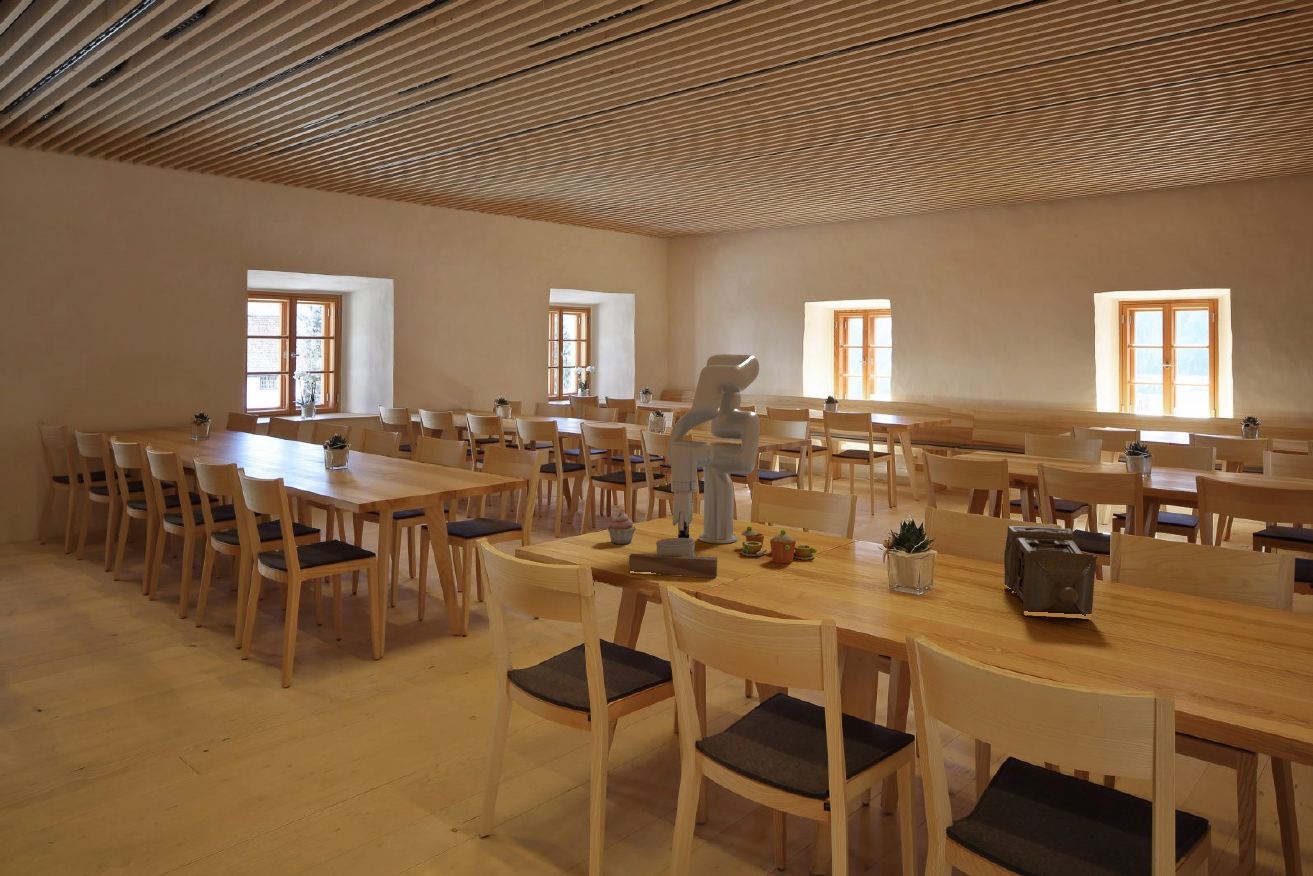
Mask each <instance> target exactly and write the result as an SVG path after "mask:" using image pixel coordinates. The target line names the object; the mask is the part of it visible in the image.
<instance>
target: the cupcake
mask: <svg viewBox="0 0 1313 876" xmlns="http://www.w3.org/2000/svg"><path fill="white" fill-rule="evenodd" d="M606 529H607V531H608V534H609V536H610V541H611V543H612V544H614V543H615V544H614V545H629V544H631V543H632V541H633V537H634V533H635V531H636V529H637V528H636V526H634V522H633V521H632V519H631V518H630V517H629V516H628V514H627V513H625V512H622V511H620V512H618V515H616V516H613V517H612V519H611V521H609V523H608V527H606Z"/></svg>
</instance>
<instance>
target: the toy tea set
mask: <svg viewBox="0 0 1313 876" xmlns="http://www.w3.org/2000/svg"><path fill="white" fill-rule="evenodd" d="M740 535H742V536H744V537H745V540H746V541H745V540H744V541H742V542H741V544H742V551H741V554H742V555H743V556H745V557H750V556H758V557H762V556H764V554H765V553H767V551H768V550H767V549H763V544H764V540H765V535H764V534H763V533H759V532H756V531H755V530H753V528H752V526H751V525H748V526H747V527H746V530H744V531H742V532H741V534H740ZM769 543H770V550H771V552H770V553H771V557H772V562H773V563H776V564H781V563H787V564H791V563H793V561H794V559H795V560H799V559H801V560H802V561H808V560H809V559H810V560H813V559H815V554H816V553H817V549H816V548H815V547H814V546H813V545H809V544H797V540H796V539H795V538H794V537H793V536H792V535H790V534H789V533H787V531H786V530H785V529H781V531H780V533H778V534H775V535H774V536H773V537H772V538H770V540H769ZM796 544H797V545H796ZM761 548H762V549H761ZM801 560H800V561H801Z"/></svg>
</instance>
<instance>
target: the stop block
mask: <svg viewBox="0 0 1313 876" xmlns="http://www.w3.org/2000/svg"><path fill="white" fill-rule="evenodd" d="M629 571H634V572H651V573H656V574H661V575H660V576H664V575H682V576H681V577H685V576H696V577H695V578H706V577H714V578H713V579H716V578H717V576H718V557H716V556H713V557H712V556H696V555H694V556H676V555H657V554H649V553H630V554H629V555H628V572H629Z"/></svg>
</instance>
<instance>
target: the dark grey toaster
mask: <svg viewBox="0 0 1313 876" xmlns="http://www.w3.org/2000/svg"><path fill="white" fill-rule="evenodd" d="M1006 532H1007V533H1006V541H1005V548H1004V556H1003V565H1004V584H1005V585H1007V586H1008V587H1009V588H1011V590H1010V592H1011V591H1014V592H1016V593H1017V594H1016V595H1017V596H1018V597H1019V598H1020V599H1021V600H1022V612H1023V611H1028V612H1048V613H1064V614H1082V615H1084V616H1086V614H1092V615H1093V604H1094V592H1095V591H1094V590H1095V588H1094V587H1095V578H1096V577H1095V576H1096V567H1097V559H1098V555H1096V554H1090V553H1089V554H1088V553H1087V554H1086V553H1083V552H1082V551H1081V549H1080V548H1079V546H1078V545H1077V541H1076V540H1075V538H1074V534H1073V530H1072V529H1071V527H1070V528H1069V527H1068V528H1060V527H1059V528H1057V527H1047V526H1046V527H1045V526H1030V525H1029V526H1024V525H1022V526H1021V525H1019V526H1018V525H1015V526H1014V525H1008V526H1007V531H1006ZM1004 584H1003V585H1004Z"/></svg>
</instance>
